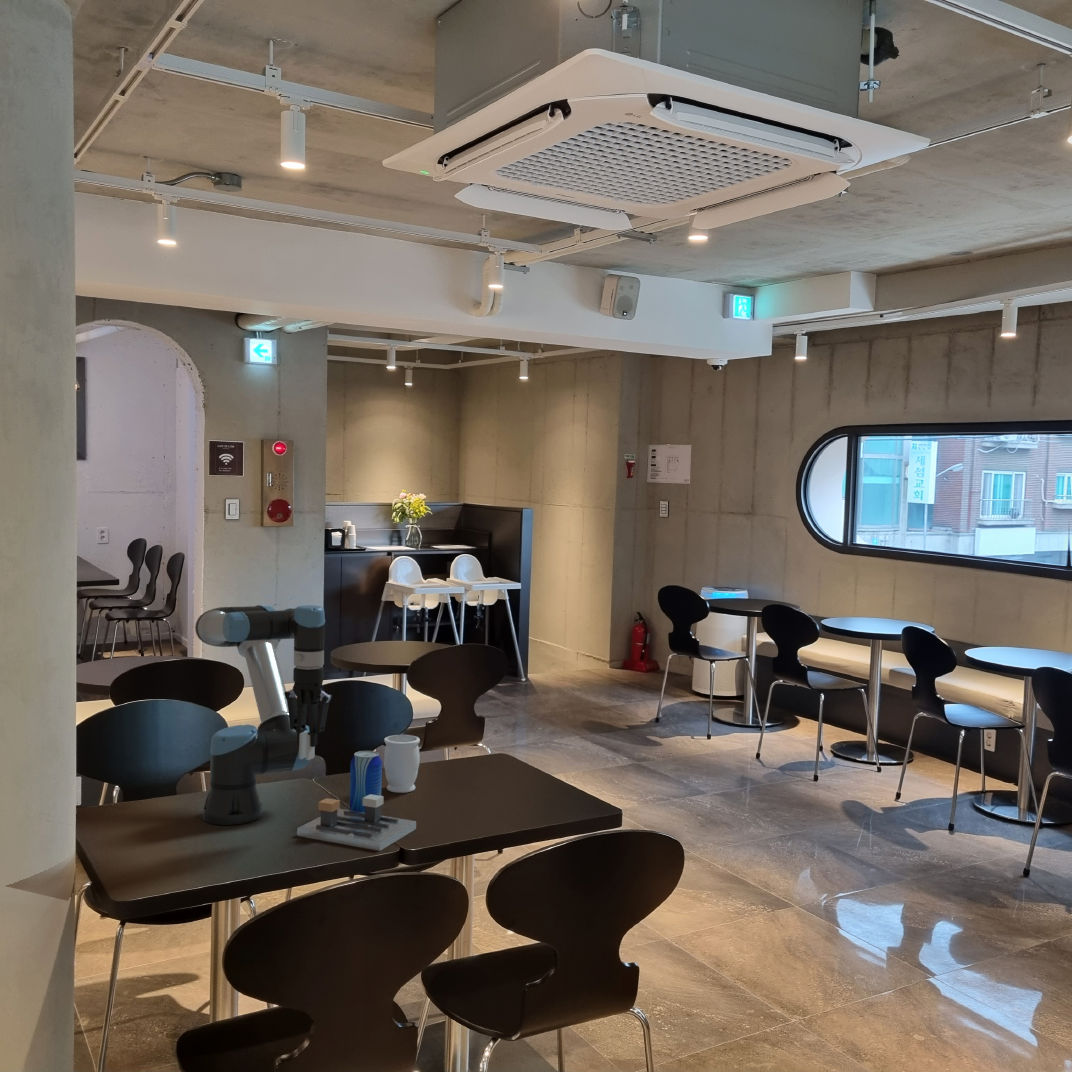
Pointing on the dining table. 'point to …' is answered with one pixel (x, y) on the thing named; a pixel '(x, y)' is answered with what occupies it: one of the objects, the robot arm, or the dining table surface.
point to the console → (358, 830)
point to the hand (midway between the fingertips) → (306, 758)
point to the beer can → (364, 778)
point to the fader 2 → (373, 807)
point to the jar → (401, 762)
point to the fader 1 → (329, 811)
